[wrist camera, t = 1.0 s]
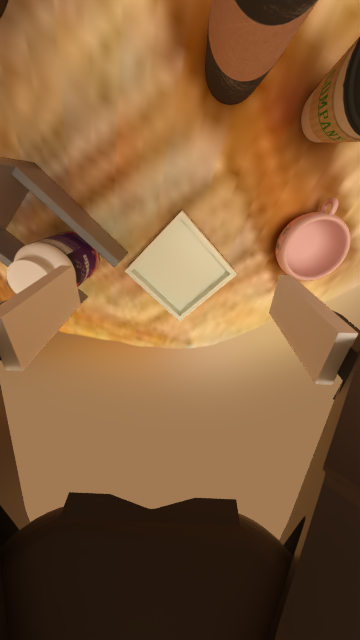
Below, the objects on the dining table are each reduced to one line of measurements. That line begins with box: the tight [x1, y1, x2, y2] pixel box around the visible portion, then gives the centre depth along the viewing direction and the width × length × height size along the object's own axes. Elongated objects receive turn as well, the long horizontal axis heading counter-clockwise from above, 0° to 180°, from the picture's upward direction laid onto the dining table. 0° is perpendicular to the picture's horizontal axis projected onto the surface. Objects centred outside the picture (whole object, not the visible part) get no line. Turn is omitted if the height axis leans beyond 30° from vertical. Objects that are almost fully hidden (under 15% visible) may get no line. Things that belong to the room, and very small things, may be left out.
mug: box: [276, 197, 350, 281], centre depth 36 cm, size 12×10×6 cm
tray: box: [125, 210, 237, 321], centre depth 41 cm, size 14×14×2 cm
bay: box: [0, 157, 128, 304], centre depth 35 cm, size 18×13×11 cm
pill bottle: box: [7, 231, 99, 294], centre depth 35 cm, size 8×8×14 cm
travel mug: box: [205, 0, 318, 104], centre depth 20 cm, size 8×8×20 cm
